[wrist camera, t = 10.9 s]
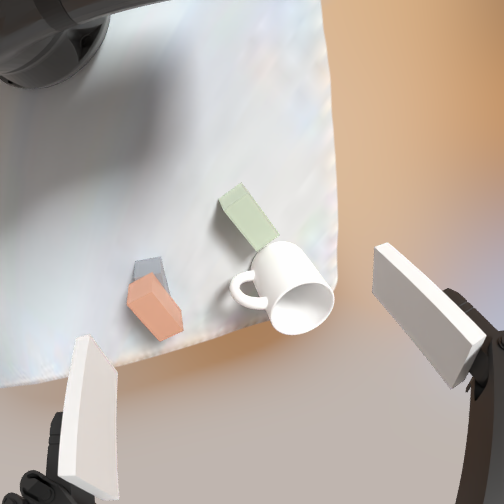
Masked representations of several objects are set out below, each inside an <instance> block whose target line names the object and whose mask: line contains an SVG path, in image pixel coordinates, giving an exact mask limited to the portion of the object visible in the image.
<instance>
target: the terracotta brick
mask: <svg viewBox="0 0 504 504" xmlns="http://www.w3.org/2000/svg"><path fill="white" fill-rule="evenodd" d="M127 306H128V307H129V308H130V309H131V310H132V311H133V313H134V314H135V315H136V316H137V317H138V318H139V319H140V320H141V322H142V323H143V324H144V325H145V326H146V327H147V328H148V329H149V330H150V332H151V333H152V334H153V335H154V336H155V337H156V338H157V339H158V340H159V341H163V340H165V339H167V338H169V337H171V336H173V335H175V334H178V333H180V332H182V331H184V330H183V322H182V314H181V309H180V308H179V307H178V306H177V304H176V303H175V302H174V300H173V299H172V298H171V296H170V295H169V294H168V293H167V291H166V290H165V289H164V287H163V286H162V285H161V283H160V282H159V281H158V279H157V278H156V276H155V275H154V274H153V272H151V273H149V274H147V275H145V276H144V277H142V278H140V279H138V280H136V281H134V282H132V283H131V284H129V288H128V297H127Z"/></svg>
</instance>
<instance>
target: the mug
mask: <svg viewBox="0 0 504 504" xmlns="http://www.w3.org/2000/svg"><path fill="white" fill-rule="evenodd" d="M248 281H253V283H254V285H255V288H256V290H257V292H258V294H259V297H250V296H247V295H245V294H244V293H243V292H242V291H241V290H240V285H241V284H242V283H244V282H248ZM229 289H230V293H231V296H232V297H233V299H234V300H235V301H236V302H237V303H239V304H240V305H242V306H244V307H247V308H250V309H256V310H266V312H267V315H268V317H269V319H270V321H271V324H272V326H273V327H274V328H275V329H276V330H277V331H279V332H280V333H283V334H287V335H298V334H302V333H306V332H308V331H311V330H312V329H314V328H316V327H317V326H319V325H320V324H321V323H322V322H323V321H324V320H325V319H326V318H327V317H328V316H329V314H330V313H331V310H332V308H333V305H334V294H333V291H332V289H331V288H330V287H329V285H328V284H327V283H326V281H325V280H324V279H323V277H322V276H321V275H320V273H319V272H318V271H317V269H316V268H315V267H314V265H313V264H312V263H311V261H310V260H309V259H308V257H307V256H306V255H305V253H304V252H303V251H302V250H301V249H300V248H299V247H298V246H296V245H295V244H293V243H290V242H283V241H281V242H275V243H271V244H269V245H267V246H265V247H264V248H262V249H261V250H260V251H259V252H258V253H257V254H256V256H255V257H254V259H253V261H252V264H251V271H245V272H242V273H239V274H237V275H236V276H235V277H234V278H233V279H232V280H231V282H230V287H229Z"/></svg>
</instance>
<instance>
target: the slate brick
mask: <svg viewBox="0 0 504 504" xmlns="http://www.w3.org/2000/svg"><path fill="white" fill-rule="evenodd" d="M151 272H153V274H154V275H155V276H156V278H157V279H158V281H159V282H160V283H161V285H162V286H163V287H164V289H165V290H166V291H167V293H168V294H169V295H170V292H169V288H168V284H167V280H166V276H165V272H164V268H163V264H162V260H161V257H156V258H150V259H145V260H140V261H135V269H134V281H136V280H138V279H140V278H142V277H144V276H145V275H147V274H149V273H151ZM170 296H171V295H170Z"/></svg>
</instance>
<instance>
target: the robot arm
mask: <svg viewBox="0 0 504 504" xmlns="http://www.w3.org/2000/svg"><path fill="white" fill-rule="evenodd" d="M164 1H169V0H0V79H1V80H2V81H4V82H5V83H7V84H9V85H11V86H14V87H17V88H22V89H36V88H44V87H49V86H52V85H55V84H58V83H60V82H62V81H64V80H66V79H68V78H69V77H71V76H72V75H74V74H75V73H76V72H78V71H79V70H80V69H81V68H82V67H83V66H85V64H86V63H87V62H88V61H89V60H90V59H91V58H92V57H93V55H94V54H95V53H96V51H97V50H98V48H99V47H100V45H101V43H102V41H103V39H104V37H105V35H106V32H107V29H108V26H109V21H110V15H111V14H115V13H118V12H122V11H125V10H129V9H133V8H137V7H141V6H145V5H150V4H154V3H159V2H164ZM372 293H373V294H374V296H375V297H376V298H377V299H378V300H379V301H380V303H381V304H382V305H383V306H384V307H385V308H386V310H387V311H388V312H389V313H390V314H391V315H392V317H393V318H394V319H395V320H396V321H397V323H398V324H399V325H400V326H401V327H402V329H403V330H404V331H405V332H406V334H407V335H408V336H409V337H410V338H411V340H412V341H413V342H414V343H415V345H416V346H417V347H418V348H419V350H420V351H421V352H422V353H423V355H424V356H425V357H426V358H427V360H428V361H429V362H430V363H431V365H432V366H433V367H434V368H435V370H436V371H437V372H438V373H439V375H440V376H441V377H442V379H443V380H444V381H445V383H446V384H447V385H448V386H449V388H450V389H452V388H454V387H456V386H457V385H458V384H460V383H461V382H463V381H464V380H465V378H466V376H467V375H468V373H469V372H470V373H471V375H472V376H473V377H472V379H471V381H470V382H469V384H468V386H467V387H466V392H468V390H469V389H470V387H471V398H470V413H469V424H468V434H467V442H466V450H465V457H464V463H463V469H462V475H461V480H460V485H459V490H458V494H457V499H456V503H455V504H504V331H498V330H496V329H495V328H494V327H493V326H492V325H491V324H490V323H489V322H488V321H487V320H486V319H485V318H484V317H483V316H482V315H481V314H480V313H479V312H478V311H477V310H476V309H475V308H473V306H472V305H471V304H470V303H468V302H467V300H466V299H465V298H464V297H463V296H461V295H460V294H459V293H458V292H456V291H454V290H452V289H449V288H447V289H445V290H443V291H441V290H440V289H439V288H438V287H437V286H436V285H435V284H434V283H433V282H432V281H431V280H430V279H428V277H426V276H425V275H424V274H423V273H422V272H421V271H420V270H419V269H418V268H416V267H415V266H414V265H413V264H412V263H411V262H410V261H408V260H407V259H406V258H405V257H404V256H403V255H402V254H401V253H399V252H398V251H397V250H396V249H395V248H394V247H393V246H392V245H390V244H389V243H388V242H387V243H384V244H381V245H379V246H376V247H374V270H373V288H372ZM117 377H118V372H117V371H116V369H115V368H114V367H113V365H112V364H111V363H110V361H109V360H108V359H107V357H106V356H105V355H104V353H103V352H102V350H101V349H100V348H99V346H98V345H97V343H96V342H95V340H94V339H93V338H92V336H91V335H90V334H88V335H85V336H81V337H77V338H76V341H75V346H74V350H73V355H72V360H71V366H70V371H69V377H68V383H67V389H66V395H65V402H64V410H63V412H57V413H56V414H55V416H54V418H53V420H52V422H51V428H50V437H49V446H48V455H47V467H46V476H45V475H43V474H42V473H40V472H38V471H35V470H31V471H28V472H27V473H25V474H24V476H23V477H22V479H21V482H20V491H21V494H22V496H23V497H21V496H19V495H18V494H15V493H8V494H7V495H6V496H5V497H4V499H3V501H2V504H96V503H95V498H94V496H95V497H97V498H99V499H101V500H119V486H118V470H117V437H116V436H117V432H116V418H117V417H116V415H117V413H116V412H117V379H118V378H117Z"/></svg>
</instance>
